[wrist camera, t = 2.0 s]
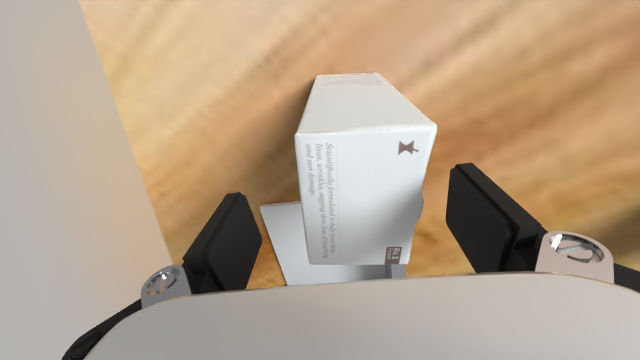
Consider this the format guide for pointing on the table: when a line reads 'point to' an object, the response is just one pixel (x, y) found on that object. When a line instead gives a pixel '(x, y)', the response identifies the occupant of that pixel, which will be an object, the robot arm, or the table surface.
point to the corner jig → (292, 251)
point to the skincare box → (361, 170)
